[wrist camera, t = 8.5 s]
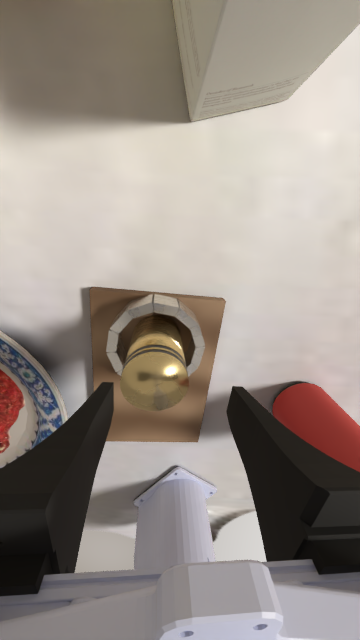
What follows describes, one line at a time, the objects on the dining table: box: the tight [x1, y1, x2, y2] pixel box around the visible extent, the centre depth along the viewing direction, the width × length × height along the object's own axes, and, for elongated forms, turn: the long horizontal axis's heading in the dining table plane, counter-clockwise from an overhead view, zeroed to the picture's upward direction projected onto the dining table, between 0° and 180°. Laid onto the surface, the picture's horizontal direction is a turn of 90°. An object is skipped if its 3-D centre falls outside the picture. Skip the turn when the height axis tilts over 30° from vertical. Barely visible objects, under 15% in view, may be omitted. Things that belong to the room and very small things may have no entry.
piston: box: [120, 315, 189, 411], centre depth 18 cm, size 5×5×7 cm
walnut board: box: [90, 287, 226, 442], centre depth 23 cm, size 18×12×1 cm, turn 174°
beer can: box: [272, 383, 360, 472], centre depth 21 cm, size 7×7×12 cm
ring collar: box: [106, 294, 205, 377], centre depth 20 cm, size 8×8×2 cm
